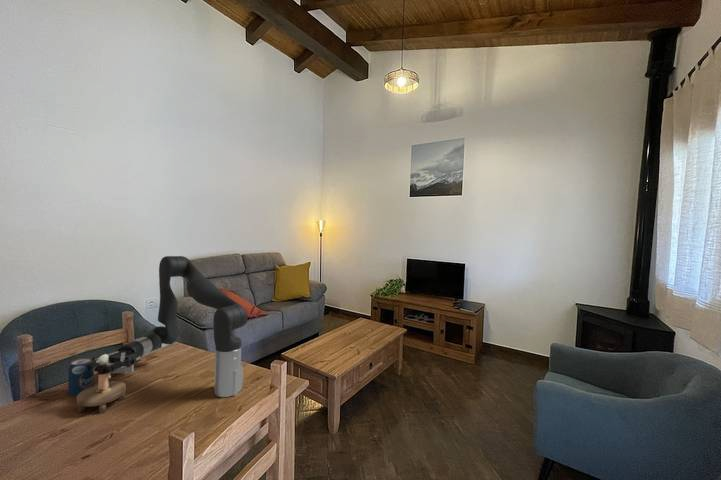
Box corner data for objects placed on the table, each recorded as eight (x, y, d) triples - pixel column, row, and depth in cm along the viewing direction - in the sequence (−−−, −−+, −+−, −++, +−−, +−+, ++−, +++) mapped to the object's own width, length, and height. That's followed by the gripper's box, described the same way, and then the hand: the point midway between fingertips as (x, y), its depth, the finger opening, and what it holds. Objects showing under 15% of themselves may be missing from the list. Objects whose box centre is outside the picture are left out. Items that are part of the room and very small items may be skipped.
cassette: (100, 373, 128) (101, 355, 127) (104, 371, 129) (104, 354, 129) (131, 373, 129) (131, 355, 129) (134, 371, 131) (134, 354, 130)
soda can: (84, 397, 110) (84, 365, 110) (62, 398, 109) (63, 365, 109) (98, 387, 117) (98, 356, 117) (77, 388, 116) (78, 357, 116)
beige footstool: (134, 395, 113) (134, 382, 112) (103, 417, 100) (103, 402, 99) (101, 393, 113) (101, 380, 113) (65, 414, 100) (65, 399, 100)
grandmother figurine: (117, 388, 108) (118, 353, 107) (107, 394, 104) (108, 358, 104) (98, 386, 109) (98, 351, 108) (87, 392, 105) (87, 356, 104)
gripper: (118, 339, 121) (78, 356, 104) (153, 341, 120) (118, 359, 104) (118, 357, 121) (78, 377, 105) (152, 360, 120) (117, 380, 104)
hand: (98, 368), depth 104 cm, fingers open, 8 cm apart
